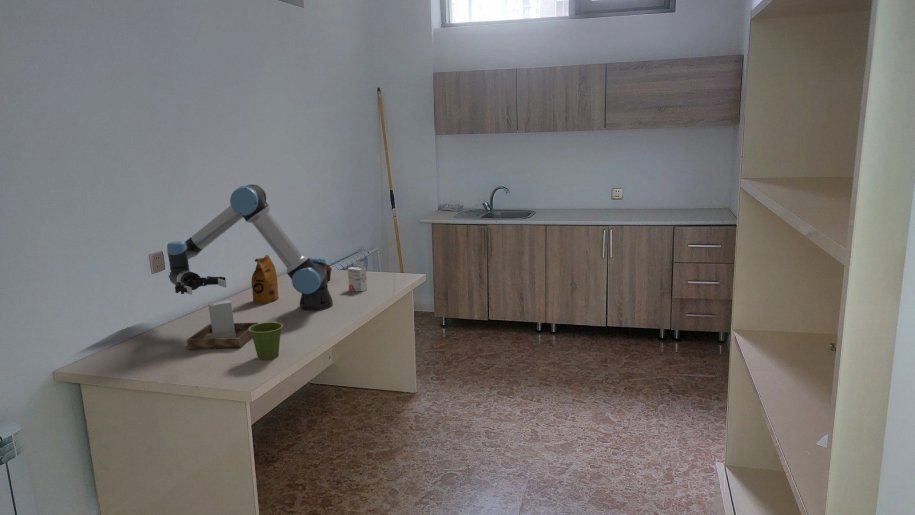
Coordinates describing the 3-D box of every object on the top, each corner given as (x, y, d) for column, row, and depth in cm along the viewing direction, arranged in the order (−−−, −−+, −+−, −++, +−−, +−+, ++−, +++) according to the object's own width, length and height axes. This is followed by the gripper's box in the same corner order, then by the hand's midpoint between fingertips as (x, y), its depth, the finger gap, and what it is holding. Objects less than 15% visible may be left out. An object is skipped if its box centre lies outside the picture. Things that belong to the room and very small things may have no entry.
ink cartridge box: (348, 290, 312) (346, 262, 309) (355, 288, 316) (353, 260, 313) (361, 292, 307) (359, 263, 304) (367, 289, 311) (365, 261, 308)
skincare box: (234, 334, 243) (230, 298, 240) (236, 338, 237) (232, 301, 234) (211, 337, 239) (207, 301, 236) (213, 342, 234) (209, 305, 231)
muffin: (327, 284, 326) (325, 266, 324) (308, 284, 328) (306, 266, 327) (335, 279, 338) (334, 261, 336) (317, 278, 340) (316, 261, 338)
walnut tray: (258, 331, 248) (258, 322, 247) (240, 348, 228) (239, 338, 228) (210, 332, 249) (209, 323, 248) (188, 349, 229) (186, 339, 228)
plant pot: (267, 364, 211) (263, 334, 209) (244, 359, 217) (241, 329, 215) (292, 354, 221) (290, 324, 219) (270, 349, 227) (267, 320, 225)
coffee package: (249, 303, 292) (245, 259, 288) (264, 297, 304) (260, 254, 299) (268, 304, 289) (263, 259, 285) (282, 297, 301) (278, 254, 297)
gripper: (219, 283, 266) (239, 290, 251) (159, 295, 249) (177, 303, 234) (217, 266, 264) (237, 272, 249) (156, 277, 248) (174, 284, 233)
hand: (208, 287), depth 242 cm, fingers open, 13 cm apart
